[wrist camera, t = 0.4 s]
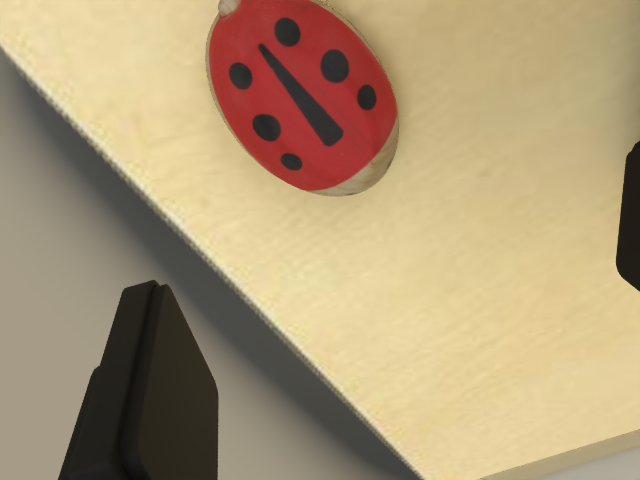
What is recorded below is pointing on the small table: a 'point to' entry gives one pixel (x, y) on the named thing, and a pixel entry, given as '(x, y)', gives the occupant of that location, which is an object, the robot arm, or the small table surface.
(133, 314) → the robot arm
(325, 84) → the ladybug figurine
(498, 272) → the small table surface
